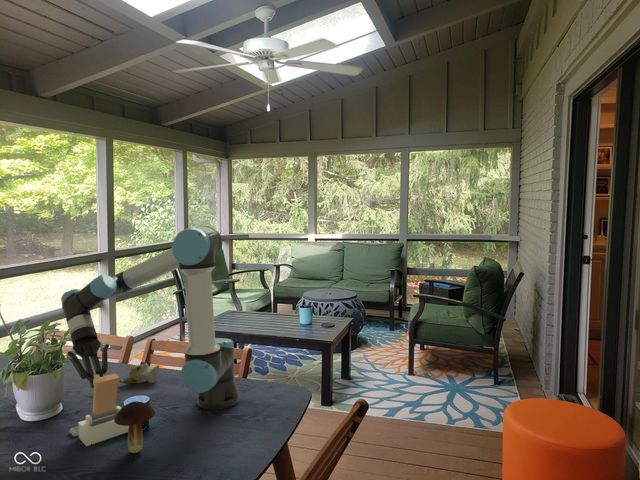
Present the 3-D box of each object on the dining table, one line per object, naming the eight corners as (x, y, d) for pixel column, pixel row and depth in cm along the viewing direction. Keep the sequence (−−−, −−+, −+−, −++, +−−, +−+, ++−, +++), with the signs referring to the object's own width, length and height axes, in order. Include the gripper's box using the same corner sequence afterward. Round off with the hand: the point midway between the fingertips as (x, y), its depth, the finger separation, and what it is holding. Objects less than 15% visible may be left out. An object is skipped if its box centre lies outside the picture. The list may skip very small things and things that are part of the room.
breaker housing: (68, 433, 144) (67, 410, 144) (117, 418, 155) (116, 397, 154) (81, 447, 136) (80, 423, 135) (131, 430, 146) (130, 408, 145)
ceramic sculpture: (153, 365, 180) (116, 367, 181) (154, 387, 181) (118, 388, 182) (163, 357, 191) (128, 358, 192) (165, 377, 191) (130, 379, 192)
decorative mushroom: (115, 465, 126) (113, 413, 125) (115, 446, 136) (113, 397, 135) (157, 457, 131) (155, 406, 130) (154, 439, 141) (153, 391, 140)
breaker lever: (90, 417, 142) (92, 378, 138) (113, 410, 147) (116, 373, 143) (93, 421, 140) (95, 383, 137) (116, 414, 145) (119, 377, 141)
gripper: (100, 334, 160) (119, 395, 149) (58, 341, 151) (75, 407, 140) (105, 322, 156) (125, 384, 145) (63, 328, 146) (80, 395, 136)
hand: (100, 395), depth 142 cm, fingers closed
